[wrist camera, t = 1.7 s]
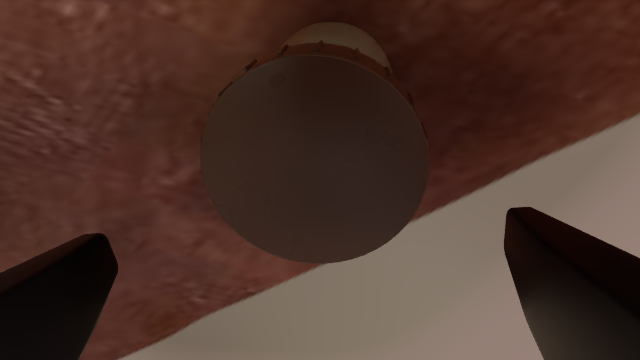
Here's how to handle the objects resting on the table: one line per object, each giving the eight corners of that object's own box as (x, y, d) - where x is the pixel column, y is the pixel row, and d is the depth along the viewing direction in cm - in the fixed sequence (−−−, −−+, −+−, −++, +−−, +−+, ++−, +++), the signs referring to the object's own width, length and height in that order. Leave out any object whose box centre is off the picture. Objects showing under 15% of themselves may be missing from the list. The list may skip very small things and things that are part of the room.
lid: (239, 237, 16) (225, 269, 14) (194, 53, 13) (170, 66, 11) (423, 227, 15) (431, 260, 13) (420, 28, 12) (430, 38, 10)
